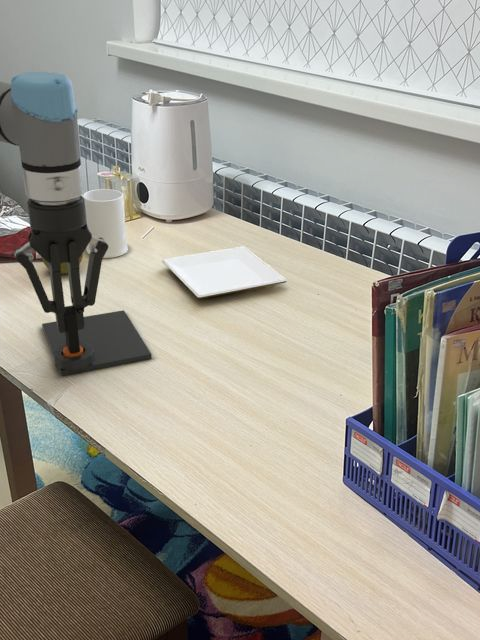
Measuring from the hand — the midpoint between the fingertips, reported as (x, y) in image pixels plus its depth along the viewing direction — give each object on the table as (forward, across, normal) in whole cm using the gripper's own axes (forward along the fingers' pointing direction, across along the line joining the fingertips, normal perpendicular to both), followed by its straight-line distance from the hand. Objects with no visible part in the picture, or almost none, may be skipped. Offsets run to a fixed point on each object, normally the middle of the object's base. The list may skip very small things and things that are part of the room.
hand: (73, 348), depth 105 cm
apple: (+3, +5, +36) cm, 36 cm away
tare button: (+2, 0, 0) cm, 2 cm away
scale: (+3, +4, +6) cm, 8 cm away
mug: (+3, +16, +45) cm, 48 cm away
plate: (+3, +33, +22) cm, 40 cm away
